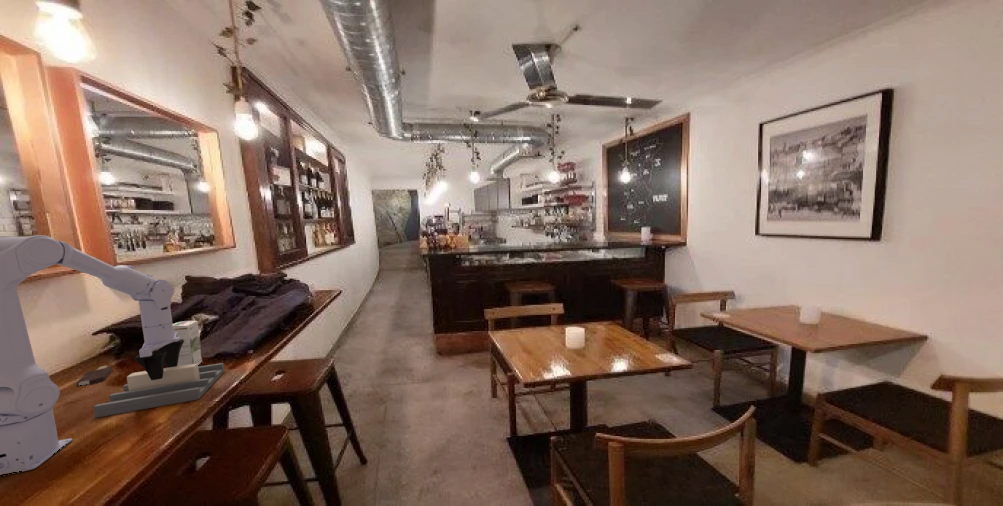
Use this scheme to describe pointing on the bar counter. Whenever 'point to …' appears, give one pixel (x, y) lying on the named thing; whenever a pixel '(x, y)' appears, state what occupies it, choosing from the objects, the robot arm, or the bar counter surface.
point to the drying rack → (160, 393)
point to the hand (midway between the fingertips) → (164, 373)
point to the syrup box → (189, 342)
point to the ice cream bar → (95, 376)
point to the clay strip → (164, 377)
